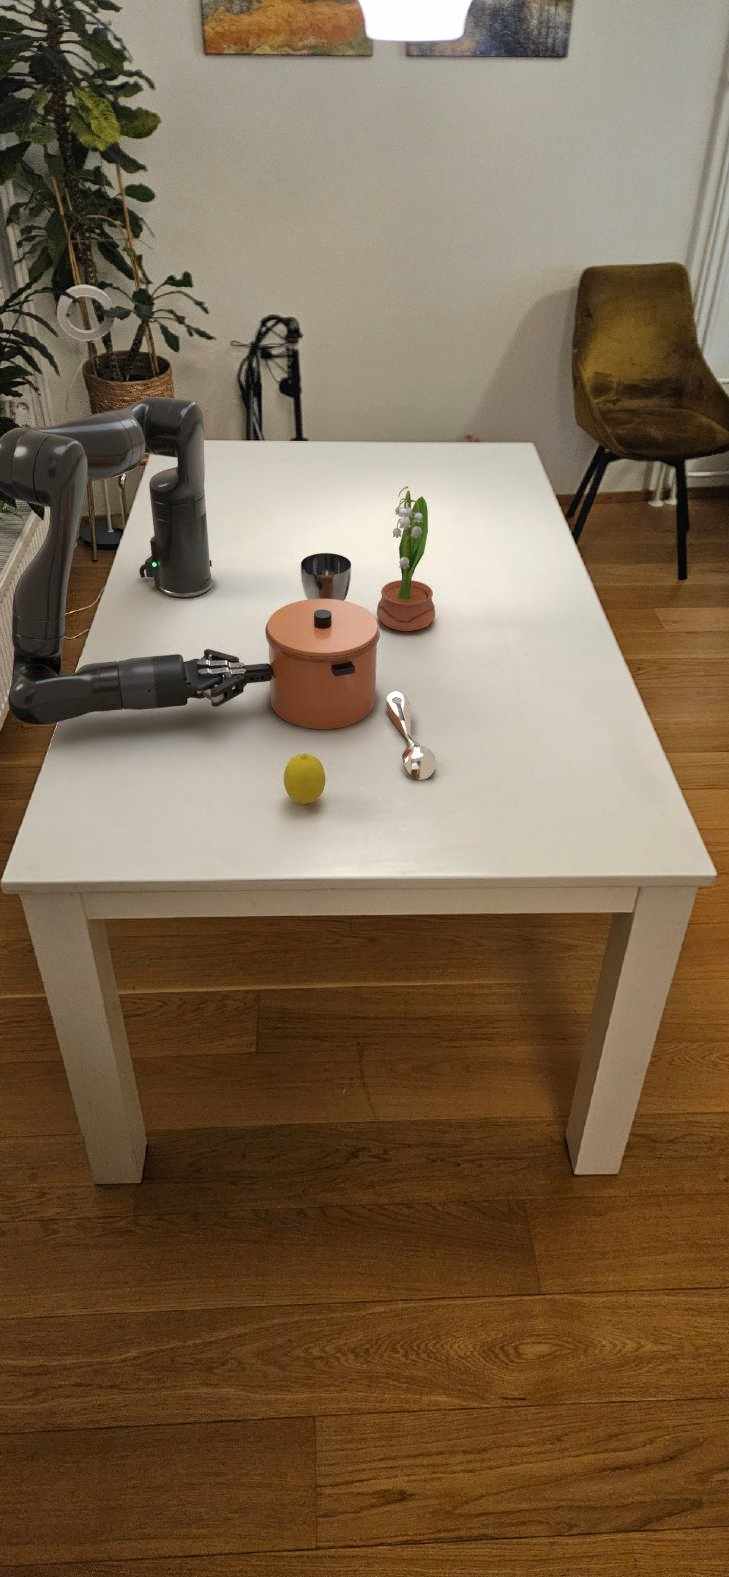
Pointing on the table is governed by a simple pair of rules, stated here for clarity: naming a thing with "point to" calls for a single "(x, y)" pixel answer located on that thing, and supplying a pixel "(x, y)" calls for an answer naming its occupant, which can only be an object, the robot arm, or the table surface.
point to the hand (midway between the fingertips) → (271, 671)
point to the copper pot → (322, 662)
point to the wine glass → (326, 576)
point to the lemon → (304, 778)
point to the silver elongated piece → (411, 741)
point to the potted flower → (408, 573)
